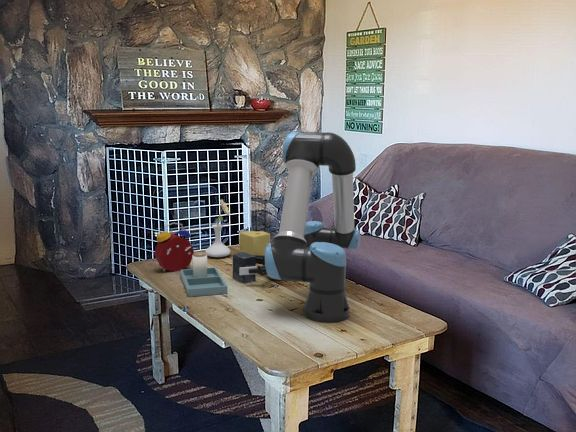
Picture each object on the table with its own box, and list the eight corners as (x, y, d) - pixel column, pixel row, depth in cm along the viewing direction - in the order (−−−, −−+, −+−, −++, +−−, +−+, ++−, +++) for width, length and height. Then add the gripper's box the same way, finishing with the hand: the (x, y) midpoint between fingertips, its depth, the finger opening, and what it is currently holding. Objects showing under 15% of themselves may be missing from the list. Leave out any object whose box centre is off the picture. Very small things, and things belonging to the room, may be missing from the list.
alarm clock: (188, 265, 244) (187, 219, 240) (197, 271, 237) (196, 223, 233) (154, 271, 236) (152, 223, 232) (162, 277, 229) (160, 227, 225)
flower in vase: (222, 260, 252) (221, 203, 247) (200, 257, 257) (199, 201, 252) (237, 253, 264) (237, 198, 259) (215, 250, 269) (215, 196, 264)
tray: (227, 294, 211) (227, 286, 211) (188, 297, 207) (188, 289, 207) (216, 274, 234) (215, 267, 233) (180, 276, 230) (180, 269, 229)
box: (256, 282, 225) (256, 255, 223) (243, 285, 221) (243, 258, 219) (244, 277, 231) (244, 251, 228) (232, 280, 227) (232, 253, 225)
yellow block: (257, 250, 271) (257, 228, 269) (271, 255, 263) (271, 233, 260) (238, 253, 264) (238, 232, 262) (252, 259, 256) (253, 236, 254)
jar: (208, 279, 225) (208, 254, 223) (193, 280, 224) (193, 255, 222) (206, 274, 231) (205, 250, 229) (191, 276, 229) (191, 251, 227)
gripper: (298, 281, 219) (242, 285, 213) (280, 262, 242) (229, 266, 236) (298, 262, 217) (242, 266, 211) (280, 245, 241) (229, 248, 235)
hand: (235, 266), depth 224 cm, fingers open, 13 cm apart
